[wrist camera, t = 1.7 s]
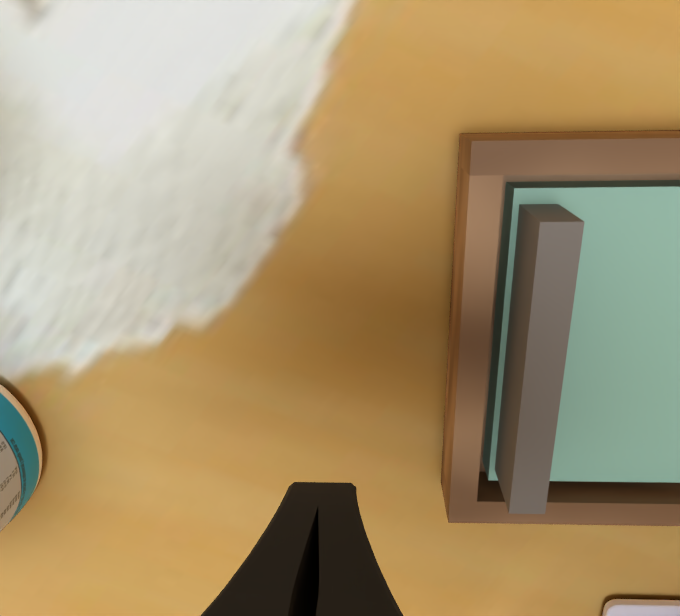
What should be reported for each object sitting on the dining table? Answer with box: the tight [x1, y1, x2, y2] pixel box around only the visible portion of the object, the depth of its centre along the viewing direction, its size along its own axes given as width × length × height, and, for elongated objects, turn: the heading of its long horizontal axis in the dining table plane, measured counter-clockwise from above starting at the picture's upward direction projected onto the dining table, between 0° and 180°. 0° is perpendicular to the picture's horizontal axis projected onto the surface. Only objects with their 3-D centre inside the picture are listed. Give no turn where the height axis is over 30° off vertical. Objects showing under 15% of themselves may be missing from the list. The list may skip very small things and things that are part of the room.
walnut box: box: [441, 130, 680, 526], centre depth 21 cm, size 14×15×2 cm
